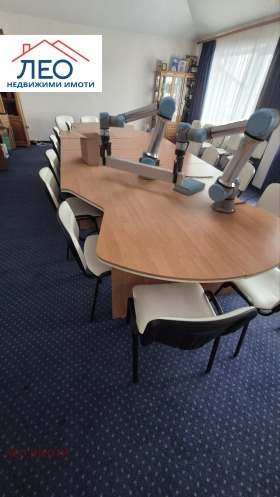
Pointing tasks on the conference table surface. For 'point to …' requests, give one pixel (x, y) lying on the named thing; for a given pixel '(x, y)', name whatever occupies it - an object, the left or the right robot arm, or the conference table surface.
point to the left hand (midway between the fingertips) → (106, 164)
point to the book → (189, 186)
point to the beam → (142, 169)
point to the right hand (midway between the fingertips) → (175, 182)
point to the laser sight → (155, 163)
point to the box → (89, 146)
